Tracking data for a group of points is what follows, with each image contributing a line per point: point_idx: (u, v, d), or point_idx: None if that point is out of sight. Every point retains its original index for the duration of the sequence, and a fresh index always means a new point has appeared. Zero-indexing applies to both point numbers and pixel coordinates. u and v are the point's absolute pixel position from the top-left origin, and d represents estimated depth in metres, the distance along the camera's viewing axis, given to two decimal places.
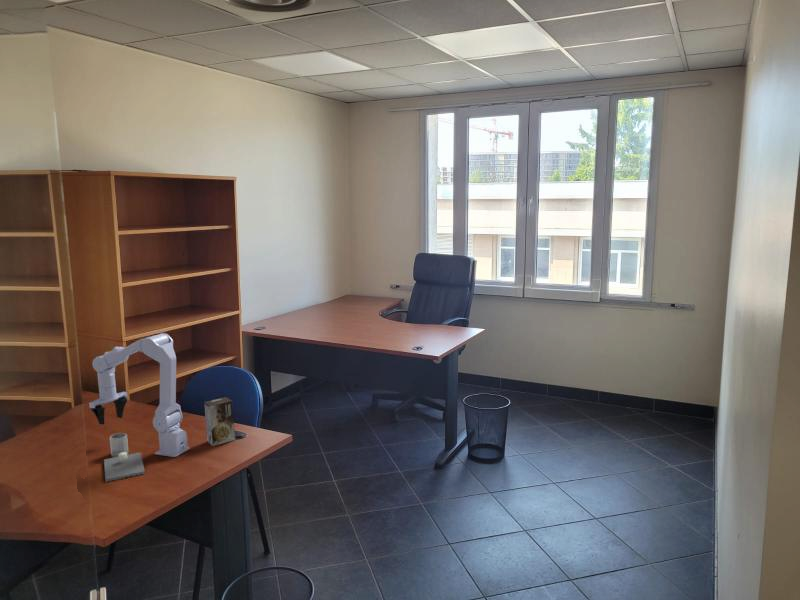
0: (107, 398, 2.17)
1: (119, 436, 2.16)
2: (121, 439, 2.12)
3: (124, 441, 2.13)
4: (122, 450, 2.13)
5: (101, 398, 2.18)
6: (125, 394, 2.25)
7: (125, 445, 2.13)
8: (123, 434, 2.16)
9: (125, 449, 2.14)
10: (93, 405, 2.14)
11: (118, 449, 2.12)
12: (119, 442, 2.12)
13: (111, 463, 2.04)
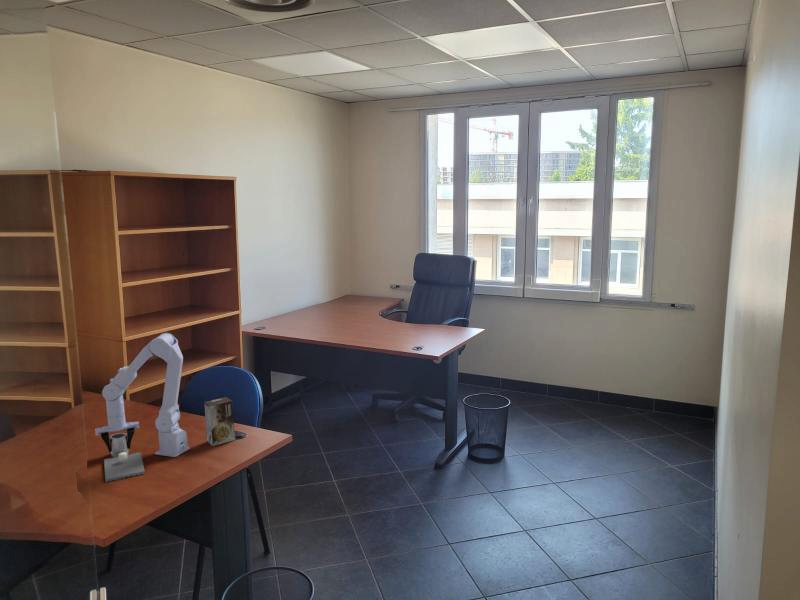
0: (111, 427, 2.10)
1: (119, 436, 2.16)
2: (121, 439, 2.12)
3: (124, 441, 2.13)
4: (122, 450, 2.13)
5: (108, 426, 2.12)
6: (136, 425, 2.15)
7: (125, 445, 2.13)
8: (123, 434, 2.16)
9: (125, 449, 2.14)
10: (96, 432, 2.09)
11: (118, 449, 2.12)
12: (119, 442, 2.12)
13: (111, 463, 2.04)
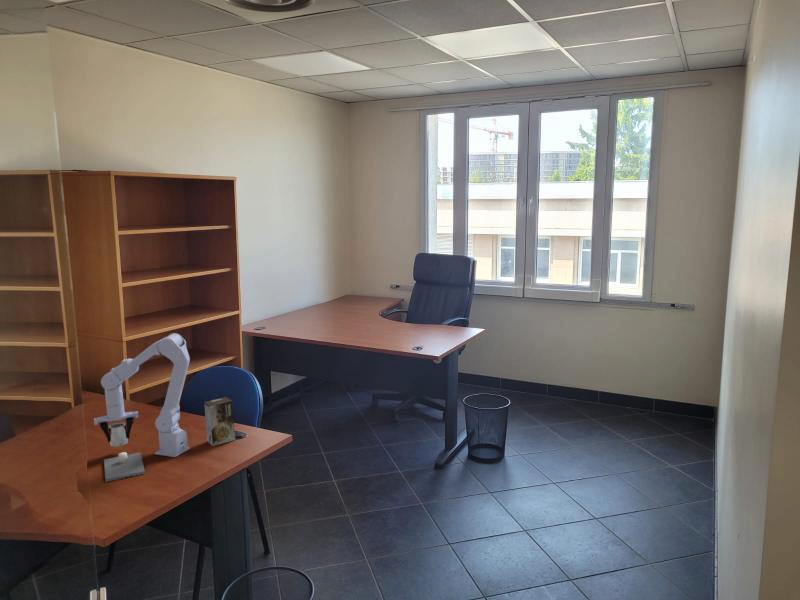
0: (110, 417, 2.10)
1: (118, 426, 2.15)
2: (120, 429, 2.11)
3: (123, 431, 2.12)
4: (121, 440, 2.12)
5: (107, 415, 2.11)
6: (136, 414, 2.15)
7: (124, 435, 2.13)
8: (122, 424, 2.15)
9: (124, 439, 2.13)
10: (95, 422, 2.09)
11: (117, 439, 2.11)
12: (118, 432, 2.11)
13: (111, 463, 2.04)
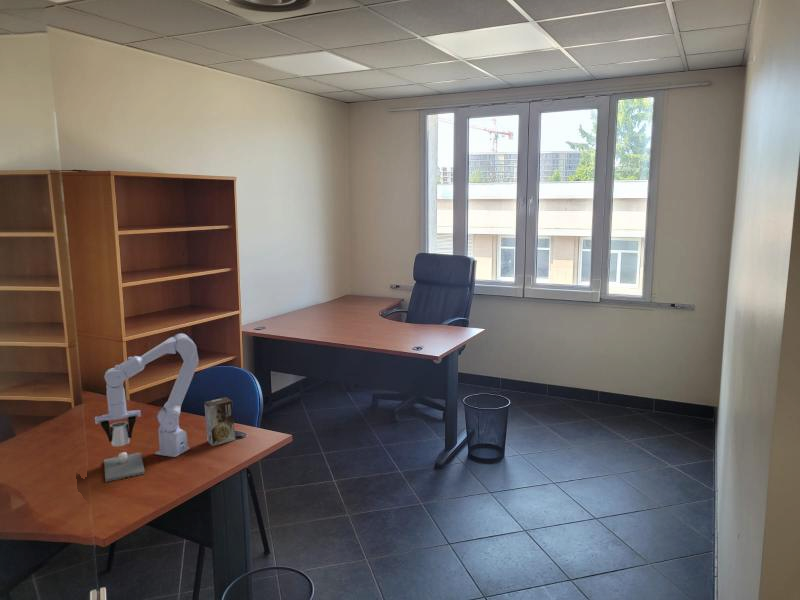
0: (112, 415, 2.02)
1: (120, 425, 2.08)
2: (122, 427, 2.04)
3: (125, 430, 2.05)
4: (123, 439, 2.05)
5: (108, 414, 2.04)
6: (138, 413, 2.07)
7: (126, 434, 2.06)
8: (124, 423, 2.08)
9: (126, 438, 2.06)
10: (96, 421, 2.01)
11: (119, 438, 2.04)
12: (120, 431, 2.04)
13: (111, 463, 2.04)
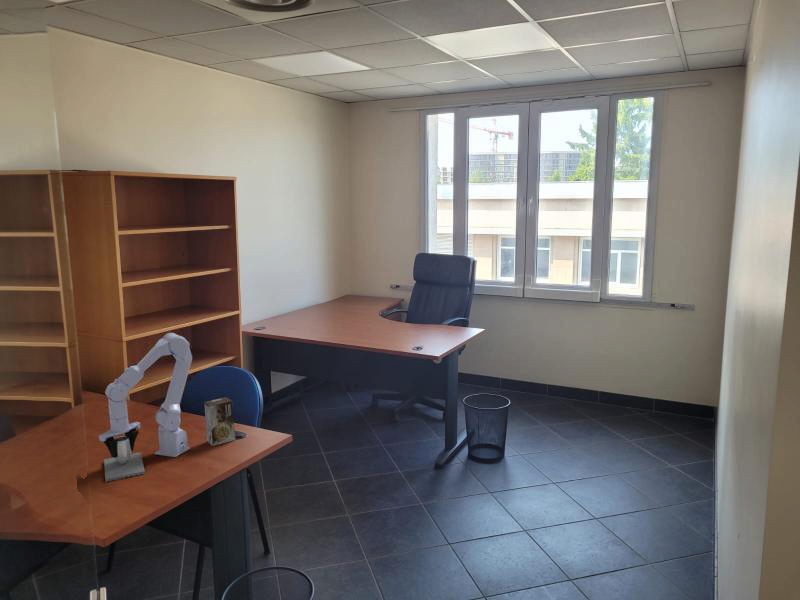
0: (118, 430, 2.01)
1: (117, 440, 2.06)
2: (127, 441, 2.04)
3: (129, 443, 2.05)
4: (129, 452, 2.04)
5: (112, 430, 2.01)
6: (138, 425, 2.09)
7: (130, 447, 2.05)
8: (122, 437, 2.06)
9: (130, 451, 2.05)
10: (103, 438, 1.97)
11: (125, 452, 2.03)
12: (126, 444, 2.03)
13: (111, 463, 2.04)
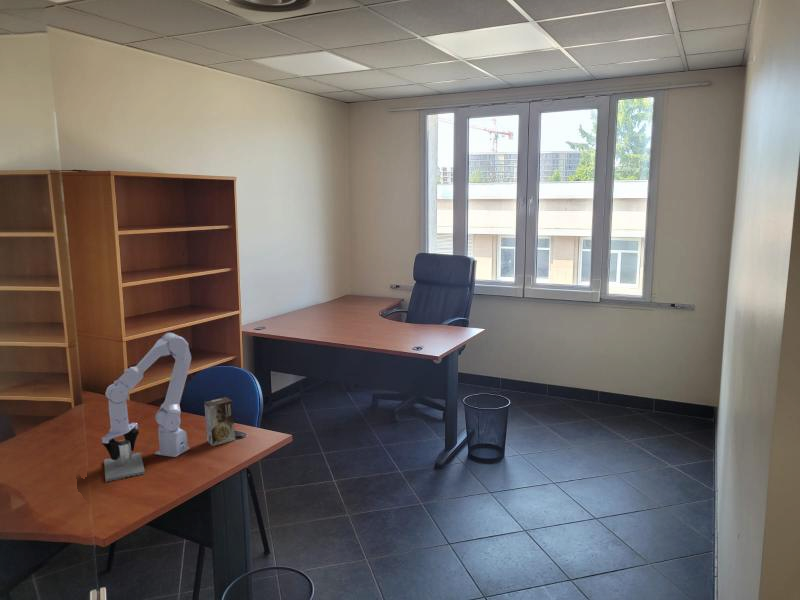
0: (121, 431, 2.01)
1: None
2: (129, 444, 2.04)
3: (130, 446, 2.06)
4: (130, 455, 2.05)
5: (113, 431, 2.01)
6: (136, 425, 2.09)
7: None
8: (121, 441, 2.06)
9: (131, 454, 2.06)
10: (107, 440, 1.97)
11: (128, 455, 2.04)
12: (128, 448, 2.04)
13: (111, 463, 2.04)
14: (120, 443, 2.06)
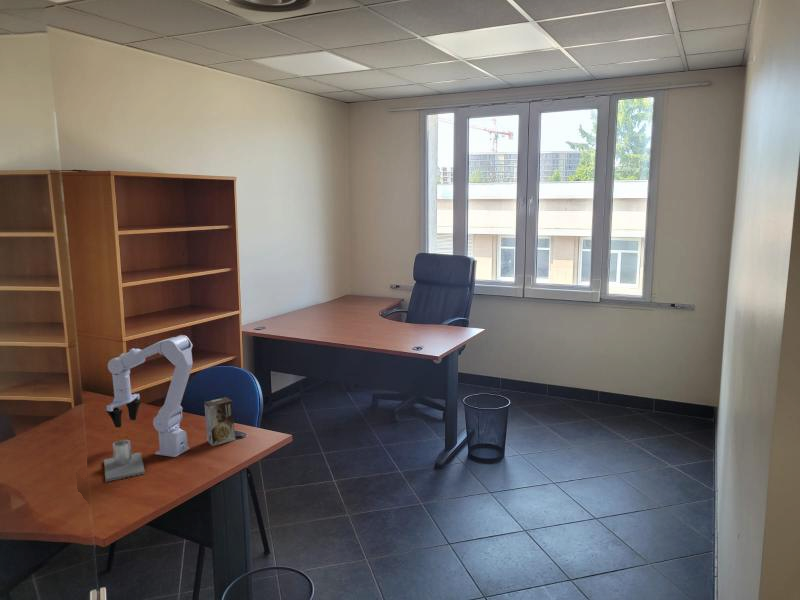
0: (124, 400, 2.14)
1: (117, 445, 2.05)
2: (129, 444, 2.04)
3: (130, 446, 2.06)
4: (130, 455, 2.05)
5: (117, 401, 2.14)
6: (138, 396, 2.23)
7: None
8: (121, 441, 2.06)
9: (131, 454, 2.06)
10: (111, 408, 2.10)
11: (128, 455, 2.04)
12: (128, 448, 2.04)
13: (111, 463, 2.04)
14: (120, 443, 2.06)
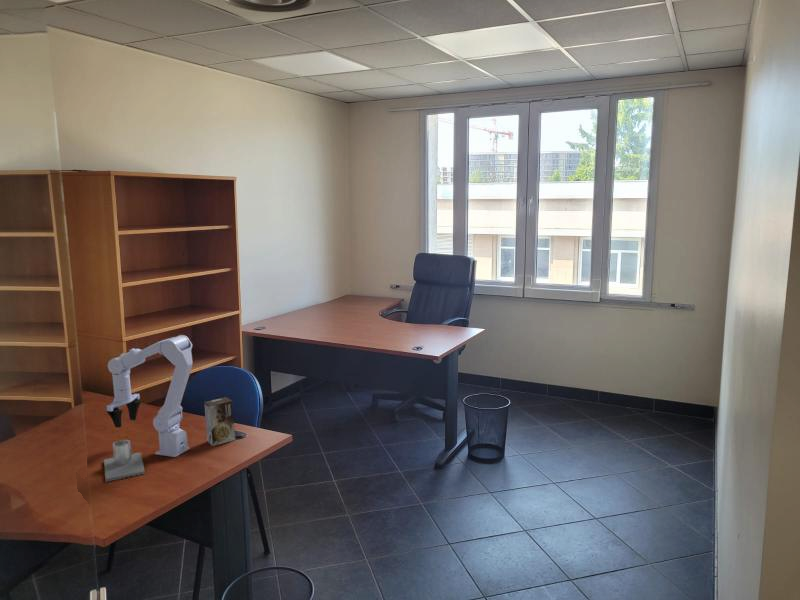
0: (124, 400, 2.14)
1: (117, 445, 2.05)
2: (129, 444, 2.04)
3: (130, 446, 2.06)
4: (130, 455, 2.05)
5: (117, 401, 2.14)
6: (138, 396, 2.23)
7: None
8: (121, 441, 2.06)
9: (131, 454, 2.06)
10: (111, 408, 2.10)
11: (128, 455, 2.04)
12: (128, 448, 2.04)
13: (111, 463, 2.04)
14: (120, 443, 2.06)
